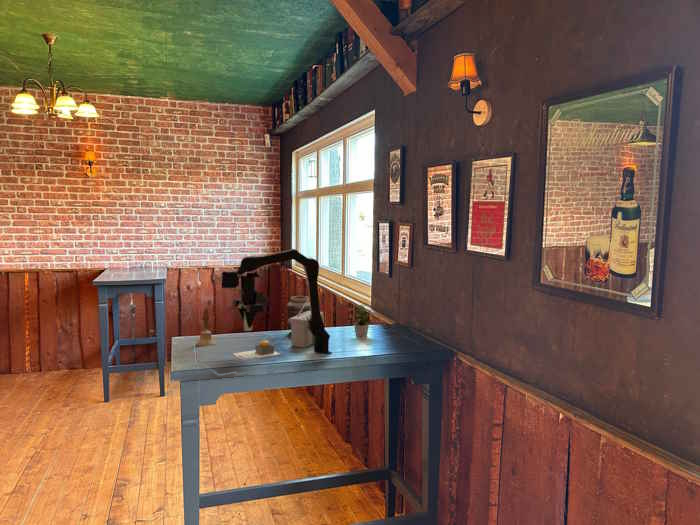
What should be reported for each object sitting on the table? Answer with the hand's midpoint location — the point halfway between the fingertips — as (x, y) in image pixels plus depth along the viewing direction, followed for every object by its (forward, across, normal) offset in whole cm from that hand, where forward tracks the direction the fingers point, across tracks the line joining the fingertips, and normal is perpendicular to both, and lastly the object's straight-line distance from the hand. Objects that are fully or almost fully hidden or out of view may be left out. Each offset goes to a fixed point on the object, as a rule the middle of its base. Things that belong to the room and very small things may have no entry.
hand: (248, 326), depth 209 cm
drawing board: (+12, -1, -3) cm, 13 cm away
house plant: (+12, +6, -59) cm, 60 cm away
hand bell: (+12, +28, +8) cm, 32 cm away
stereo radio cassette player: (+12, +6, -31) cm, 34 cm away
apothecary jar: (+12, +25, -37) cm, 47 cm away
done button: (+9, 0, -7) cm, 12 cm away
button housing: (+11, 0, -7) cm, 13 cm away
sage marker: (+1, 0, 0) cm, 1 cm away
